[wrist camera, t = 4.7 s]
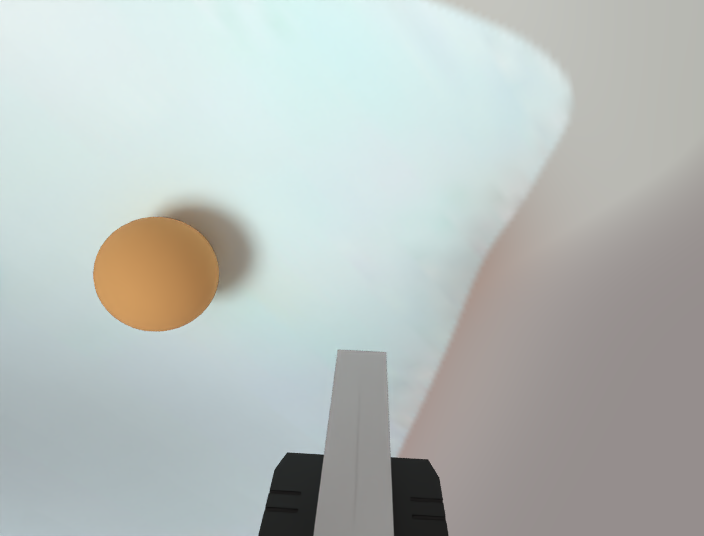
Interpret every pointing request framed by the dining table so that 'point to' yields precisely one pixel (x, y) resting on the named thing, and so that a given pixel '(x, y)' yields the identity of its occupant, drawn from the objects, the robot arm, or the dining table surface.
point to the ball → (156, 274)
